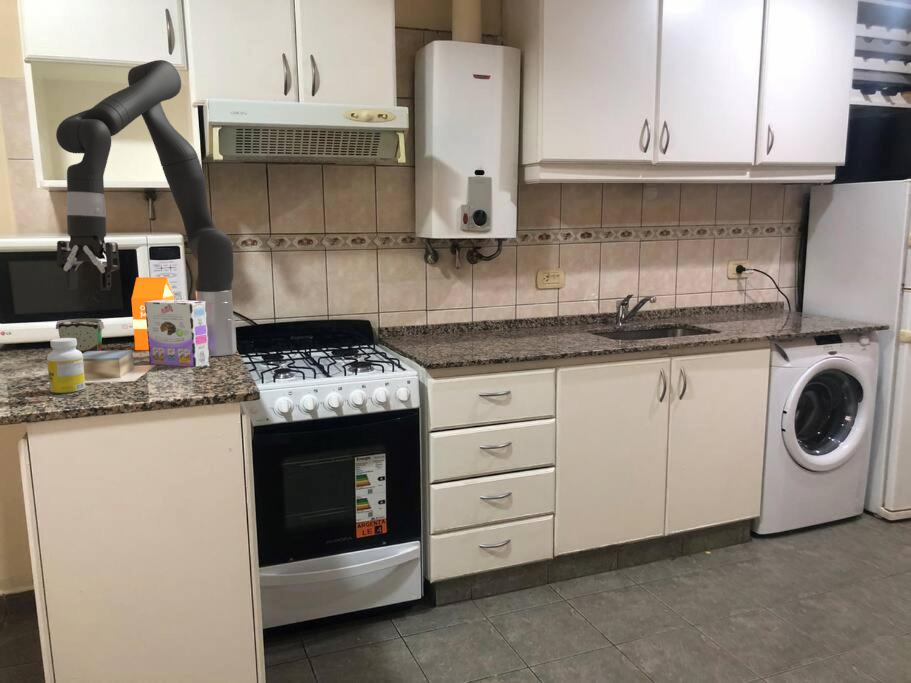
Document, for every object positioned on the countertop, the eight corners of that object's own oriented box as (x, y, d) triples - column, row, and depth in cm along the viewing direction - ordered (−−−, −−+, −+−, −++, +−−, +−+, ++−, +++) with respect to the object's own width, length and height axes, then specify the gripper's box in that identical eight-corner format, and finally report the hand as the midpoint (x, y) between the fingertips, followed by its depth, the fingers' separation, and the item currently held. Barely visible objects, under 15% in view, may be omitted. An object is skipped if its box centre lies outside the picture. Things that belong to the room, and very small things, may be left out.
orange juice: (166, 350, 199) (161, 278, 196) (134, 350, 199) (129, 278, 196) (177, 345, 207) (172, 276, 204) (147, 345, 207) (142, 276, 204)
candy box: (210, 366, 176) (207, 300, 174) (195, 371, 171) (190, 302, 168) (165, 363, 181) (160, 298, 178) (148, 367, 175) (143, 300, 172)
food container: (116, 355, 191) (113, 318, 189) (103, 360, 185) (100, 321, 183) (73, 354, 192) (69, 318, 190) (58, 359, 186) (55, 321, 184)
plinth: (133, 368, 168) (132, 350, 168) (120, 377, 159) (119, 357, 158) (88, 370, 167) (87, 351, 166) (72, 379, 157) (70, 359, 156)
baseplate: (156, 369, 173) (156, 365, 173) (134, 385, 155) (134, 381, 155) (77, 371, 170) (77, 367, 170) (46, 388, 153) (45, 383, 153)
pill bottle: (59, 391, 150) (54, 337, 148) (91, 391, 151) (86, 336, 149) (44, 399, 144) (38, 342, 142) (77, 398, 144) (72, 341, 142)
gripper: (126, 216, 156) (128, 290, 158) (72, 214, 160) (74, 287, 162) (101, 214, 149) (103, 291, 151) (45, 212, 152) (48, 288, 154)
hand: (88, 289), depth 156 cm, fingers open, 8 cm apart
